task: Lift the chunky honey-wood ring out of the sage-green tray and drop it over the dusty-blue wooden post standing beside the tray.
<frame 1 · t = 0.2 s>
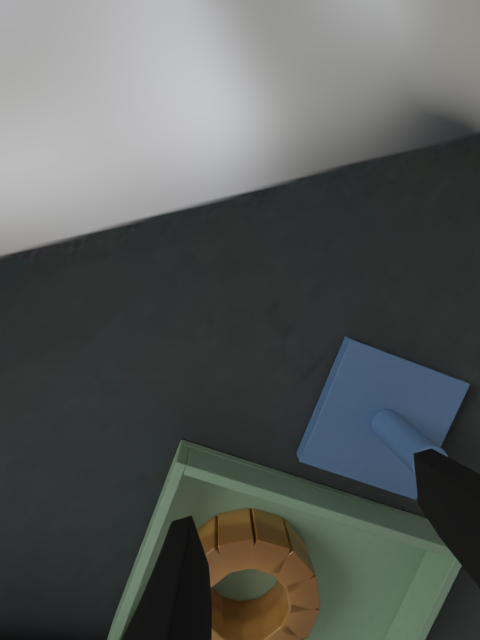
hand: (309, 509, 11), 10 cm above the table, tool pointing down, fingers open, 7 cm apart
post: (377, 416, 21), on the table
ring: (244, 567, 22), point 1 cm above the table, touching tray
tray: (278, 570, 22), on the table
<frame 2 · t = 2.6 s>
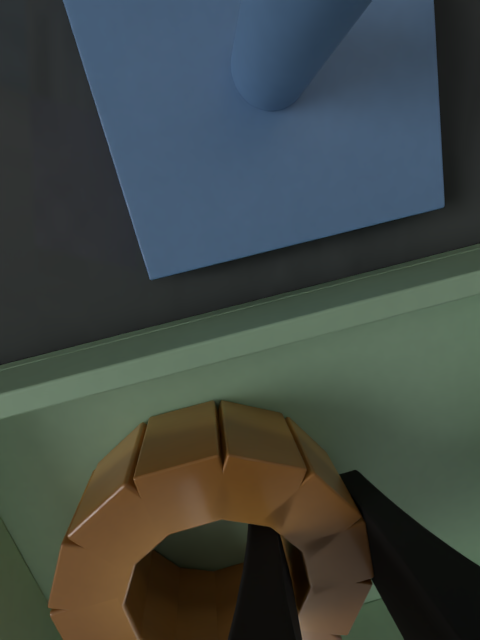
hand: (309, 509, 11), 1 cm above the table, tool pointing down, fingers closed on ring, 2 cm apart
post: (262, 85, 9), on the table
ring: (215, 514, 11), point 1 cm above the table, touching gripper, tray
tray: (278, 482, 12), on the table
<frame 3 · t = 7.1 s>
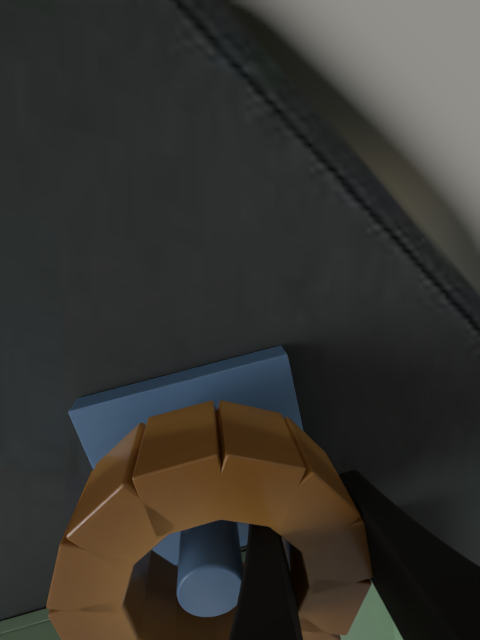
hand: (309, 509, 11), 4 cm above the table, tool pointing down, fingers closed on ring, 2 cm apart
post: (207, 456, 14), on the table
ring: (214, 514, 11), point 3 cm above the table, touching gripper
when the fingers open (7 cm above the table, at t = 15.9 s): ring drops 5 cm, resting on post.
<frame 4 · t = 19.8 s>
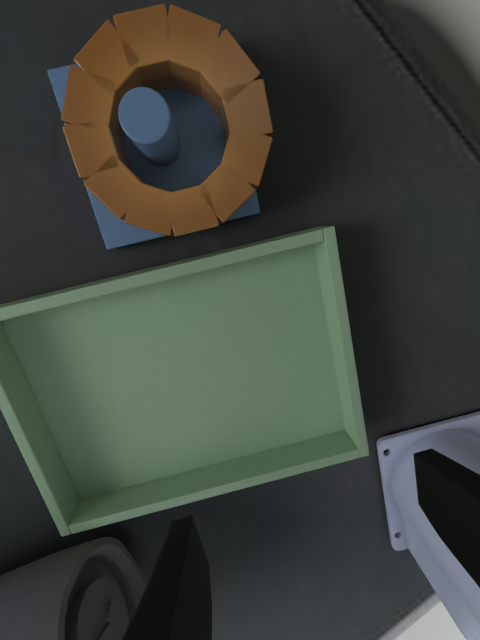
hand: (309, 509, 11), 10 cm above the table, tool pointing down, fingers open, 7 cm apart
post: (164, 151, 17), on the table
ring: (176, 144, 16), point 1 cm above the table, touching post
tray: (189, 374, 20), on the table
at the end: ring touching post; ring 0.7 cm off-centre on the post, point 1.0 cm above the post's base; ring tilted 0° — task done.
